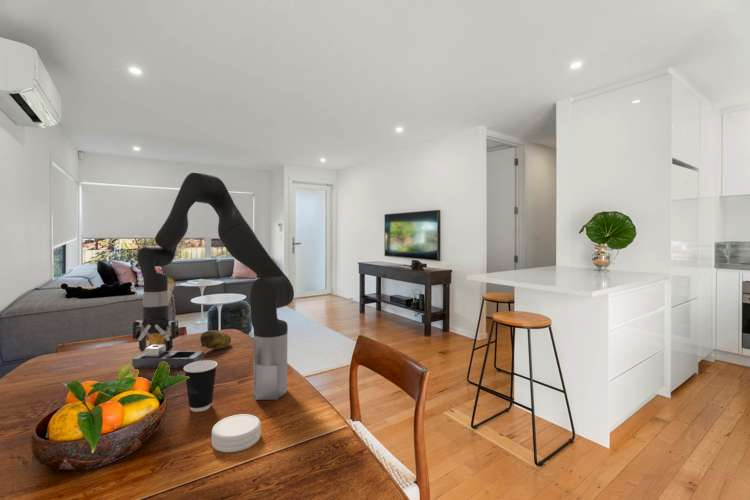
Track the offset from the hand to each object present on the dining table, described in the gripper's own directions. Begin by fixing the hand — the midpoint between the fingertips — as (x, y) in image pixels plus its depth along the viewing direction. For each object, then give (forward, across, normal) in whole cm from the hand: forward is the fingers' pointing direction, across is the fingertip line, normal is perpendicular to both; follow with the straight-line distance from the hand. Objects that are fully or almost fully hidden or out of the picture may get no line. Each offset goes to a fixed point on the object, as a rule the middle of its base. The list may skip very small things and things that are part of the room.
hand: (156, 350), depth 121 cm
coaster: (+5, +42, -47) cm, 64 cm away
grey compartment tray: (+5, +4, 0) cm, 6 cm away
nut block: (+4, 0, 0) cm, 4 cm away
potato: (+5, +14, +16) cm, 22 cm away
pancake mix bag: (+5, -10, +21) cm, 24 cm away
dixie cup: (+5, +28, -32) cm, 43 cm away
